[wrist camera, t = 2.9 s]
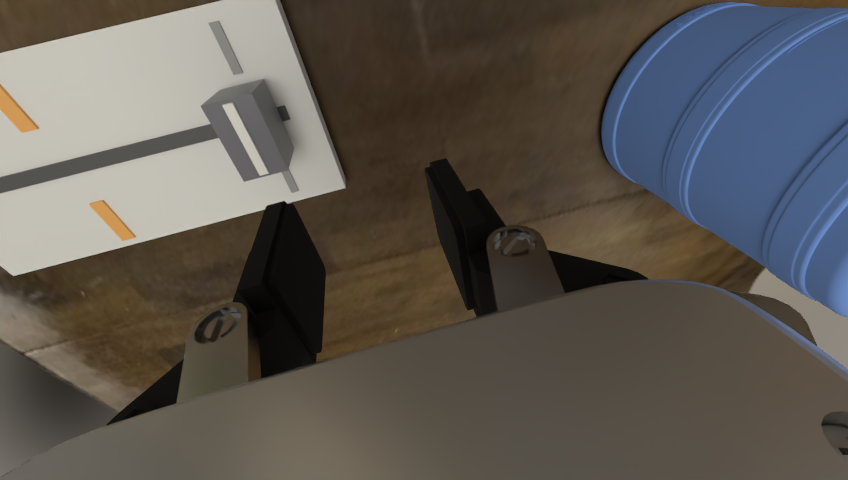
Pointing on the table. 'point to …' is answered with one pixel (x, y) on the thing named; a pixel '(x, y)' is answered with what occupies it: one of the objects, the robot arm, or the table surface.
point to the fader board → (146, 131)
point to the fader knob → (250, 129)
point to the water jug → (746, 134)
